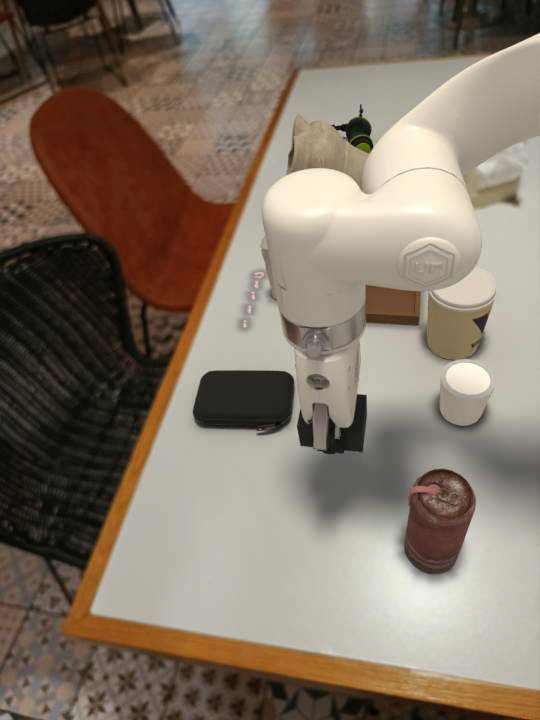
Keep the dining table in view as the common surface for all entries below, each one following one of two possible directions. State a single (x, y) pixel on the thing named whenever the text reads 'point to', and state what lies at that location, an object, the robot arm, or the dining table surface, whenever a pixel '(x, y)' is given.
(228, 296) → the dining table surface
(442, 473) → the can
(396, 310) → the tray
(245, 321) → the flower petals
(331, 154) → the vase
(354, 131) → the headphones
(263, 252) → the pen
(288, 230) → the robot arm
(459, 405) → the white short cylinder
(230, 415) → the carrying case
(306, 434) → the pad
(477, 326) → the coffee cup
